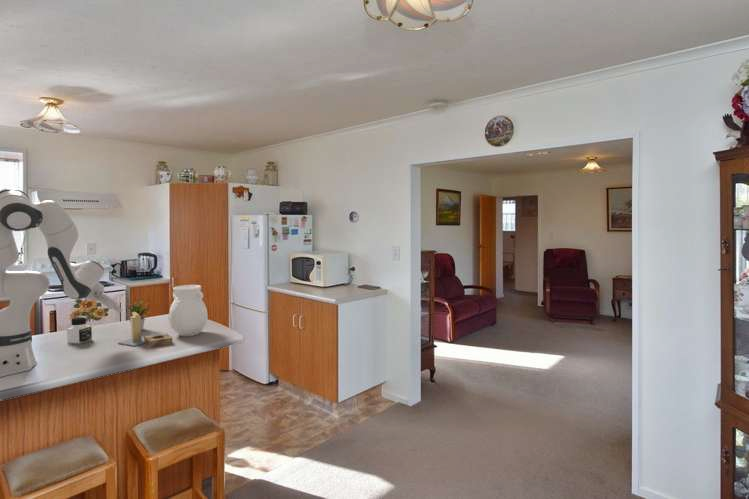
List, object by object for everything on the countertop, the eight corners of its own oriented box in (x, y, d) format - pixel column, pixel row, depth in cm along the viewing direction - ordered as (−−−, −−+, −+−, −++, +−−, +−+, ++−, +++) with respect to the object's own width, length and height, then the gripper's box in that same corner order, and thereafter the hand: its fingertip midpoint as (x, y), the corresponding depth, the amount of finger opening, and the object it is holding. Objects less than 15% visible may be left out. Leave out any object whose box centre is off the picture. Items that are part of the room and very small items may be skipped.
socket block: (149, 347, 200) (149, 341, 199) (144, 342, 207) (144, 336, 207) (172, 343, 206) (172, 337, 206) (166, 339, 214) (166, 333, 213)
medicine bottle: (79, 344, 204) (78, 319, 203) (67, 342, 206) (66, 318, 205) (92, 339, 211) (91, 315, 210) (80, 338, 213) (79, 315, 212)
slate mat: (134, 346, 201) (134, 345, 201) (118, 343, 205) (118, 342, 205) (154, 340, 211) (154, 339, 211) (138, 337, 215) (138, 336, 215)
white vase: (160, 337, 217) (159, 288, 215) (186, 328, 234) (185, 283, 232) (191, 340, 211) (190, 290, 209) (215, 331, 229) (214, 284, 227)
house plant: (129, 335, 219) (128, 304, 218) (115, 331, 226) (114, 301, 225) (156, 329, 231) (155, 299, 230) (141, 325, 239) (140, 296, 237)
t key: (134, 343, 204) (133, 315, 203) (130, 339, 210) (129, 312, 209) (142, 342, 206) (141, 314, 205) (138, 338, 212) (138, 311, 211)
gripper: (103, 288, 189) (129, 307, 197) (95, 283, 205) (119, 301, 212) (91, 299, 187) (118, 318, 194) (84, 294, 202) (108, 311, 209)
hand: (118, 309), depth 203 cm, fingers open, 8 cm apart
